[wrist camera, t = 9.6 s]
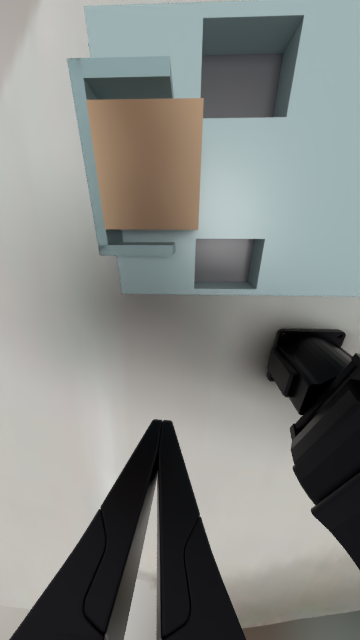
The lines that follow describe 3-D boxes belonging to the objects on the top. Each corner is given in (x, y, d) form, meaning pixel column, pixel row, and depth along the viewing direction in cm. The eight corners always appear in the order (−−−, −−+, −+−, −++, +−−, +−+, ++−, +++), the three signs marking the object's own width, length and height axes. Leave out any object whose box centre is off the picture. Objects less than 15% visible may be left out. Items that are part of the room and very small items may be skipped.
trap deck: (483, 38, 11) (717, -113, 6) (373, 288, 18) (446, 311, 13) (103, 48, 12) (43, -82, 7) (129, 285, 18) (108, 306, 13)
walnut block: (198, 138, 12) (203, 98, 8) (195, 229, 14) (198, 229, 10) (116, 139, 12) (86, 99, 8) (126, 229, 14) (105, 229, 10)
